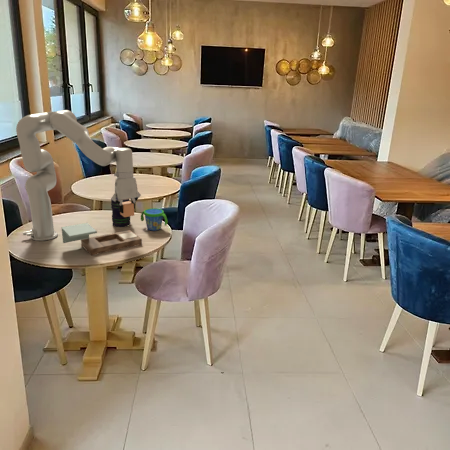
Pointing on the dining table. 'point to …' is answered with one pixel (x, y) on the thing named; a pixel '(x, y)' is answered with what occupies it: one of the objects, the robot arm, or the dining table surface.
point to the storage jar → (119, 215)
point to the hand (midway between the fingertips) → (127, 211)
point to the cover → (77, 232)
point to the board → (111, 242)
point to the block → (127, 209)
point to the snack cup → (154, 218)
